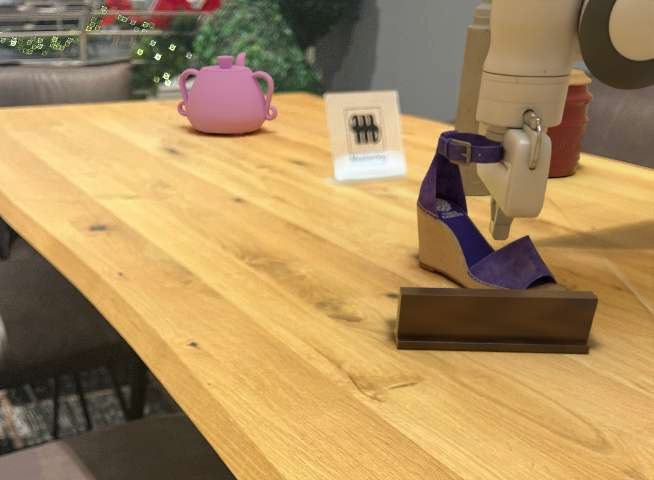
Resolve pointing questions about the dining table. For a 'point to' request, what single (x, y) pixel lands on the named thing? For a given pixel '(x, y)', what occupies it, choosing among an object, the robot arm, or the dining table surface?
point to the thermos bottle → (473, 89)
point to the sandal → (470, 225)
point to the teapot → (226, 98)
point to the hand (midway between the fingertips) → (497, 237)
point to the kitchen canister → (570, 127)
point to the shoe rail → (494, 319)
